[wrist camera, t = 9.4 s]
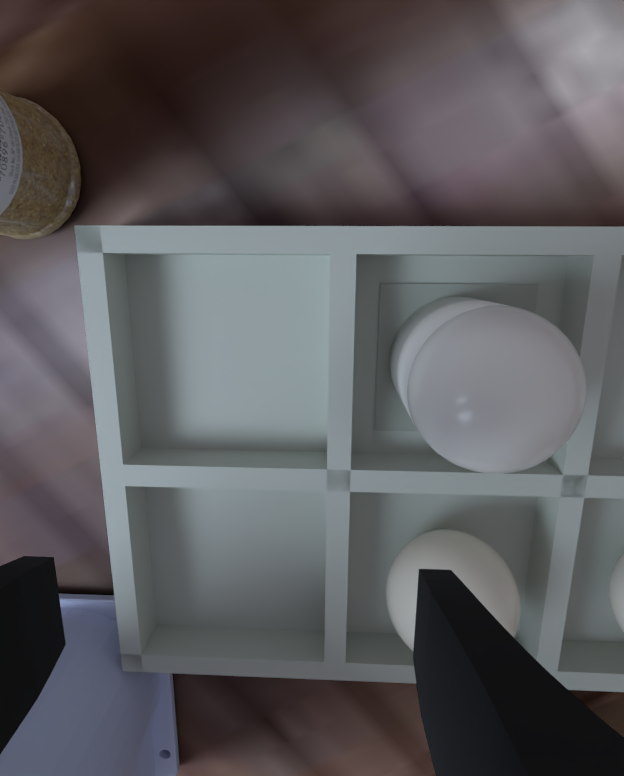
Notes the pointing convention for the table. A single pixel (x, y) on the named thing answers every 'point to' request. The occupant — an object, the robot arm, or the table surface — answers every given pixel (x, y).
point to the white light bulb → (488, 383)
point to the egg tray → (335, 443)
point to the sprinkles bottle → (34, 170)
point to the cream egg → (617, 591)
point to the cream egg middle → (469, 564)
